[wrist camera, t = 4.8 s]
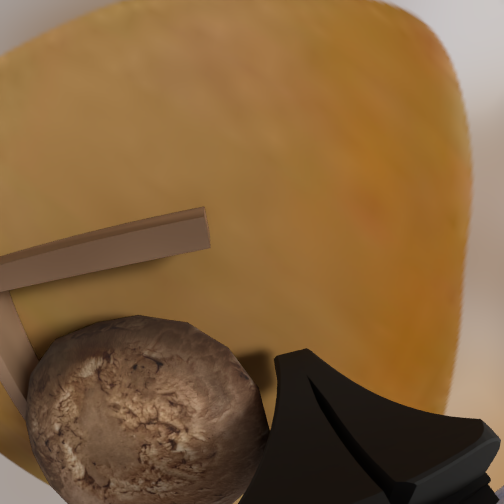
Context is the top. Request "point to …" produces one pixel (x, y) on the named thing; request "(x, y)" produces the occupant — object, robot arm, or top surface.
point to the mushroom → (144, 415)
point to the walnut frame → (81, 262)
